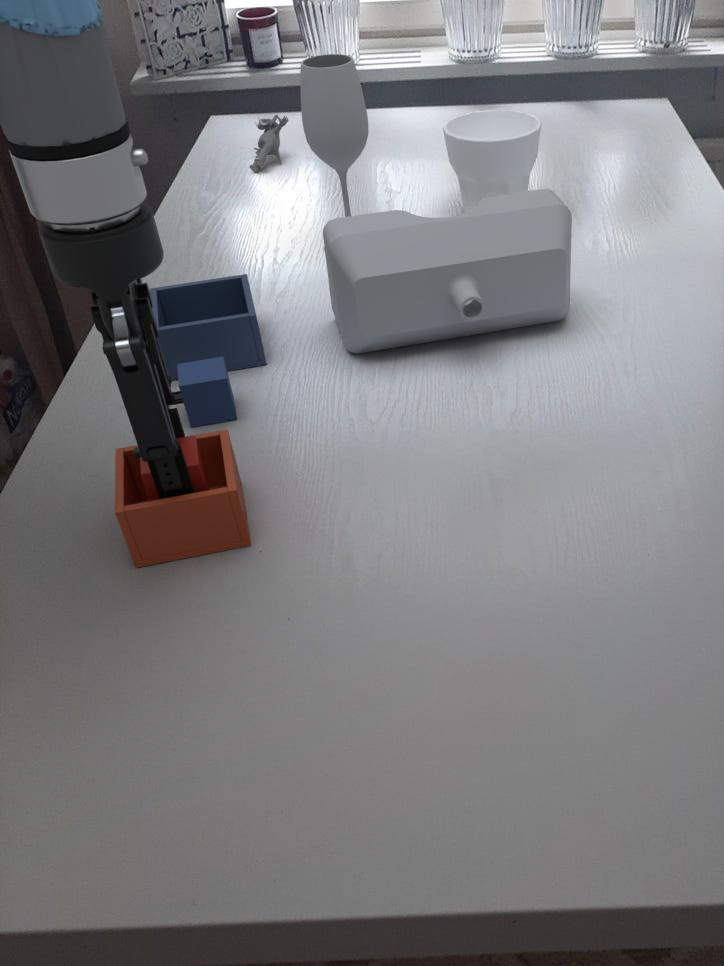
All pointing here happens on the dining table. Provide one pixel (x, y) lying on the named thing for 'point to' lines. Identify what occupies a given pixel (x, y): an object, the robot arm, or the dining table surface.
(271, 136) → the elephant figurine
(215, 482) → the terracotta bin
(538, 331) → the dining table surface
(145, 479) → the red block
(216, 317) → the slate bin
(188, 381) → the blue block
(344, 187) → the wineglass
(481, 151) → the cup
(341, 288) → the tank
